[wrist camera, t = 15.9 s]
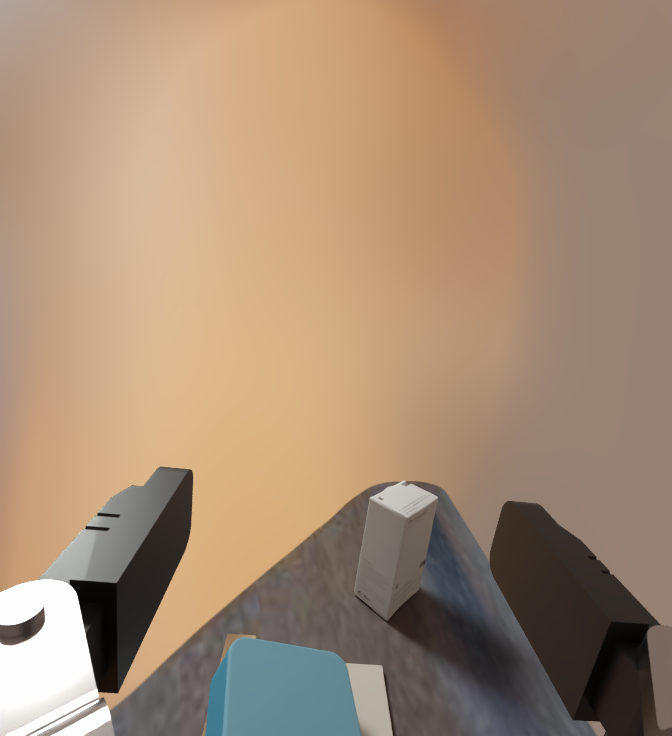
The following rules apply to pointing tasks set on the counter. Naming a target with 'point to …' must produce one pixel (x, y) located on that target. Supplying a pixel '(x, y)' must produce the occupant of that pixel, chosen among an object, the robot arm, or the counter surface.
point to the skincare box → (394, 547)
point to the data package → (280, 692)
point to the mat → (370, 699)
